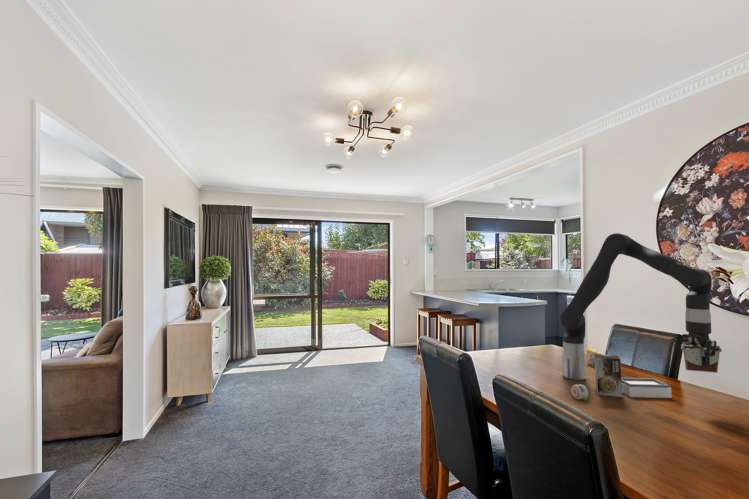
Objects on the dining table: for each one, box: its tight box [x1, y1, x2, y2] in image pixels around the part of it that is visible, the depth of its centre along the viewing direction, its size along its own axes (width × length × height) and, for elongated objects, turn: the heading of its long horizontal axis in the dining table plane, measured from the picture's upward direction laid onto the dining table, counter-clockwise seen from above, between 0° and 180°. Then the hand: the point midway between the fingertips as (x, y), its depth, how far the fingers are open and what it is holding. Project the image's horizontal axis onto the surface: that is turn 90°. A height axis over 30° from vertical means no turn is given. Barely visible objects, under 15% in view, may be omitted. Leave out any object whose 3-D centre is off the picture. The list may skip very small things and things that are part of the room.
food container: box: [680, 341, 723, 374], centre depth 143 cm, size 12×6×10 cm, turn 71°
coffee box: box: [594, 353, 623, 398], centre depth 158 cm, size 9×6×16 cm
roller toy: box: [570, 384, 589, 401], centre depth 152 cm, size 4×6×6 cm
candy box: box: [586, 348, 607, 367], centre depth 198 cm, size 16×2×8 cm, turn 6°
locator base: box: [621, 377, 672, 399], centre depth 158 cm, size 16×11×5 cm, turn 85°
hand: (699, 363), depth 142 cm, fingers closed on food container, 5 cm apart
